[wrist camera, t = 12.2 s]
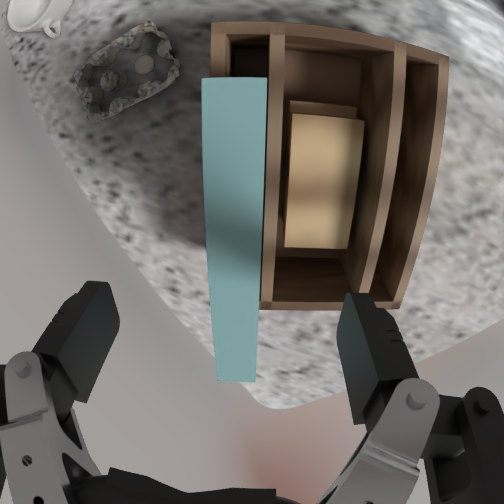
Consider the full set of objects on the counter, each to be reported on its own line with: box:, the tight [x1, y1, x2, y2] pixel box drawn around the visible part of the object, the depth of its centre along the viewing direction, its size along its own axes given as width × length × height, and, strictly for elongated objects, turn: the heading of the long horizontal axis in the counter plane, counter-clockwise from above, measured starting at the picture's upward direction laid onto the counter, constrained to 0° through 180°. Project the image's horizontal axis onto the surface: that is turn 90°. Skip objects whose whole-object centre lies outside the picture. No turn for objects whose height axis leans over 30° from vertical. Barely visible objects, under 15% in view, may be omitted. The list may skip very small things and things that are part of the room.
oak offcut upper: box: [283, 112, 365, 249], centre depth 26 cm, size 12×6×2 cm, turn 179°
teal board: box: [202, 77, 267, 382], centre depth 20 cm, size 14×2×20 cm, turn 179°
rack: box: [210, 21, 449, 310], centre depth 26 cm, size 24×18×10 cm
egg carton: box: [73, 20, 180, 124], centre depth 24 cm, size 11×8×4 cm
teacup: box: [7, 0, 73, 38], centre depth 18 cm, size 10×8×5 cm
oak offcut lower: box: [282, 100, 357, 223], centre depth 28 cm, size 12×6×2 cm, turn 179°
